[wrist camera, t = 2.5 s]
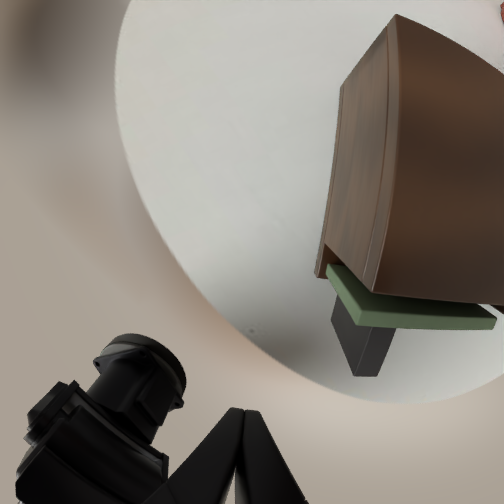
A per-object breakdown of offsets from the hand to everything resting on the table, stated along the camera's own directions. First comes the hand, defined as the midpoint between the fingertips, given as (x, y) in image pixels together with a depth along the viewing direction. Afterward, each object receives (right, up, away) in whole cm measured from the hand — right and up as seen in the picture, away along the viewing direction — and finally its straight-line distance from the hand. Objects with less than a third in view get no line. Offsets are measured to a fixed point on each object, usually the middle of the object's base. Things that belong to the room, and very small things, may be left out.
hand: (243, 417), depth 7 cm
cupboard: (+14, +8, +9) cm, 18 cm away
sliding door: (+9, +2, +9) cm, 13 cm away
